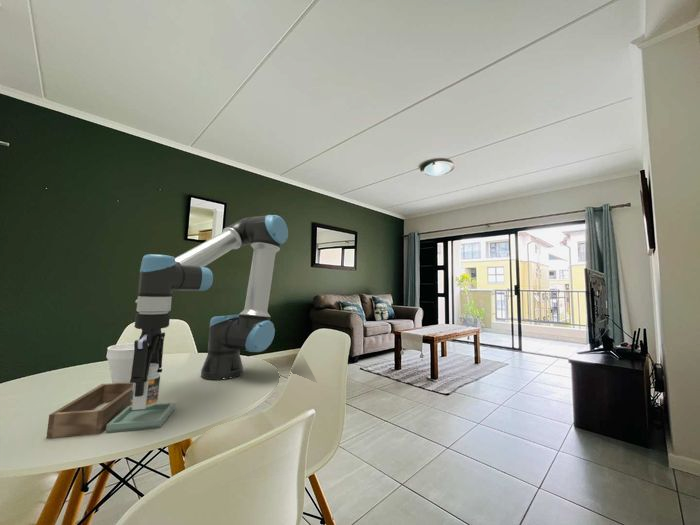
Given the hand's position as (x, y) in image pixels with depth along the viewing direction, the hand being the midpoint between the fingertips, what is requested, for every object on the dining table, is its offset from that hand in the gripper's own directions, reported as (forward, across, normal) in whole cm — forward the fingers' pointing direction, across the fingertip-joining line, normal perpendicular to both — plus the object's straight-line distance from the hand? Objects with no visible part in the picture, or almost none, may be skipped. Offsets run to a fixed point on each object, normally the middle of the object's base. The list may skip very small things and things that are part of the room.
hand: (144, 403), depth 72 cm
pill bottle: (+1, 0, 0) cm, 1 cm away
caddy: (+4, -5, -11) cm, 13 cm away
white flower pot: (+4, -27, -14) cm, 31 cm away
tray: (+4, 0, 0) cm, 4 cm away
